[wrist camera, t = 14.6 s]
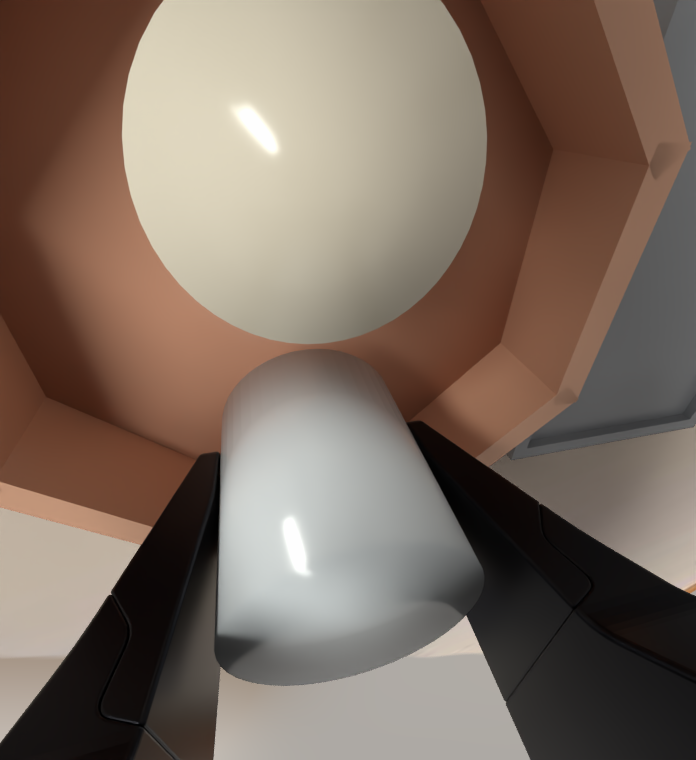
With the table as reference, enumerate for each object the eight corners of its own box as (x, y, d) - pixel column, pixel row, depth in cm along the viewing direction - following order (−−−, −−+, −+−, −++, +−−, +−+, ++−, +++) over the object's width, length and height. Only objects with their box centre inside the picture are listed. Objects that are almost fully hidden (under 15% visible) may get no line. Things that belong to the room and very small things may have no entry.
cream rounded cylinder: (199, 251, 10) (177, 359, 6) (149, 6, 7) (47, -99, 3) (371, 241, 11) (454, 329, 7) (382, 20, 8) (528, -51, 4)
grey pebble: (236, 491, 11) (237, 707, 7) (205, 360, 9) (182, 585, 5) (385, 465, 12) (458, 646, 8) (397, 339, 9) (514, 514, 6)
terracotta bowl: (-381, -293, 5) (-1194, -809, 2) (648, -136, 8) (875, -263, 5) (85, 498, 14) (48, 600, 11) (483, 432, 17) (533, 500, 14)
